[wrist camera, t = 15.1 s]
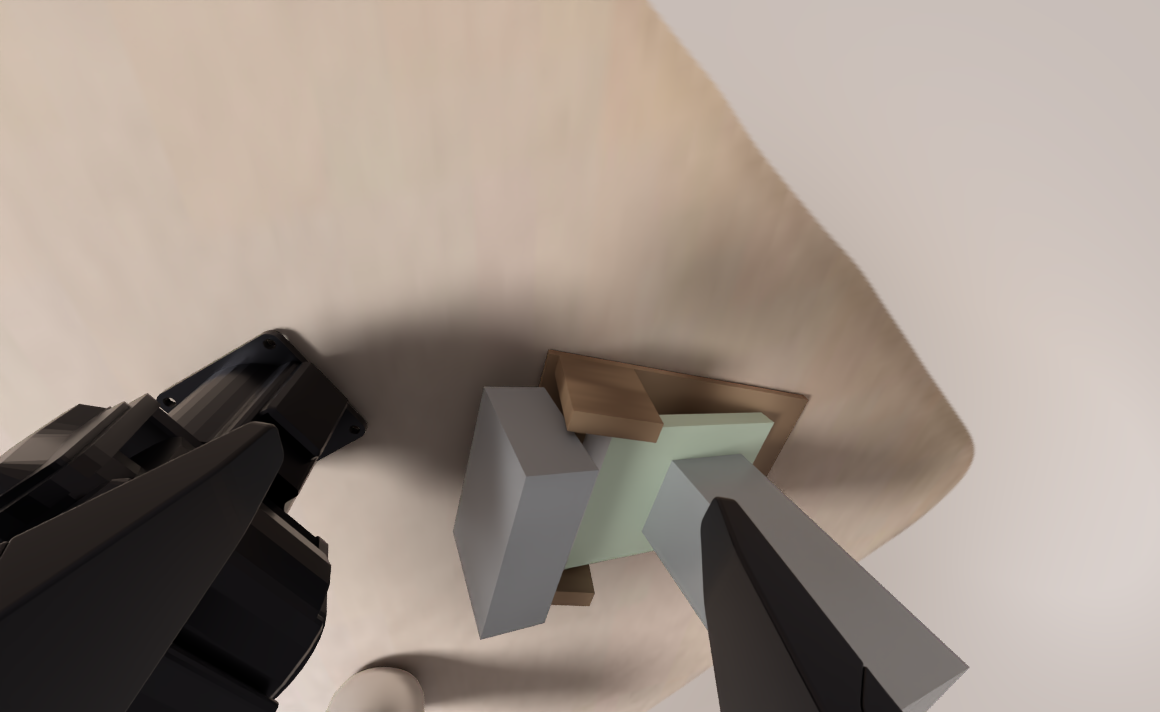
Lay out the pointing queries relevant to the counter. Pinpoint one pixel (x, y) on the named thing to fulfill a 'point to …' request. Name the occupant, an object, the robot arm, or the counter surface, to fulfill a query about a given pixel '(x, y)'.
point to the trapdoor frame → (649, 416)
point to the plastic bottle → (379, 692)
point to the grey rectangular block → (801, 574)
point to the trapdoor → (565, 497)
